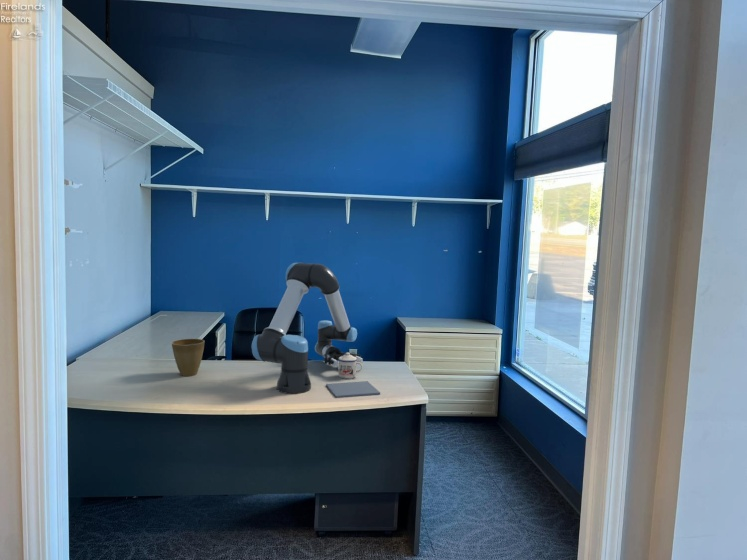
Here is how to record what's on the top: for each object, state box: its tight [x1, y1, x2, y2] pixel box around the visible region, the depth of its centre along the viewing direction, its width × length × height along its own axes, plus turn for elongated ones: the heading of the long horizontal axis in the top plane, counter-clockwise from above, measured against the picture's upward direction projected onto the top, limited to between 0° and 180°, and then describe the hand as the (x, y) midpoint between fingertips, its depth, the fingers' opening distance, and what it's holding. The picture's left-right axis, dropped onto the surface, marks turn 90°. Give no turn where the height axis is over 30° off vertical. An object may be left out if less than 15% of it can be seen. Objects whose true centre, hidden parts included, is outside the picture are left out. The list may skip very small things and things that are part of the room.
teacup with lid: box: [338, 352, 363, 379], centre depth 258 cm, size 12×9×12 cm
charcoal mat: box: [325, 380, 381, 399], centre depth 237 cm, size 20×18×1 cm
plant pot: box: [171, 338, 205, 377], centre depth 253 cm, size 15×15×16 cm
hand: (349, 362), depth 259 cm, fingers open, 13 cm apart
